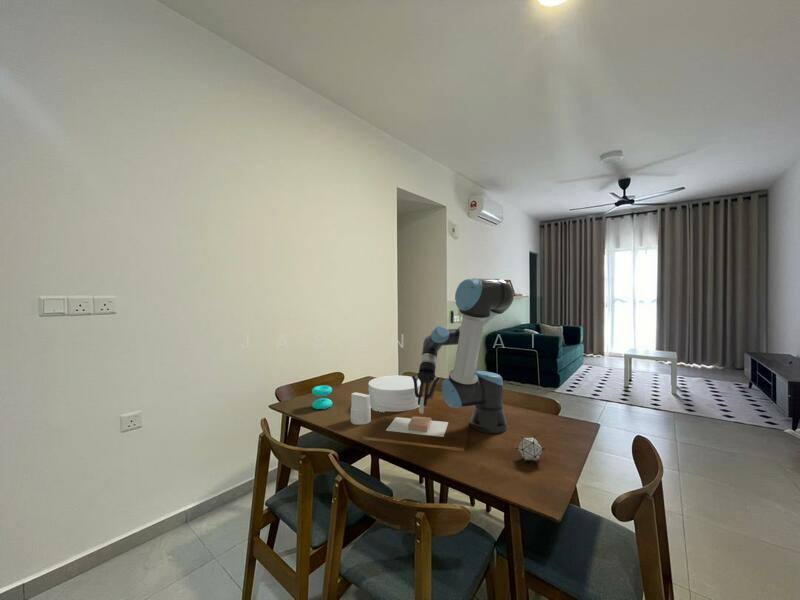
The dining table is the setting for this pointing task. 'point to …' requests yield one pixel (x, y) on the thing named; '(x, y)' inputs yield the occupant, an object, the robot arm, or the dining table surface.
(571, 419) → the dining table surface
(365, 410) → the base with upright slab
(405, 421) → the cutting board
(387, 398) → the plate stack
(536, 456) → the game die
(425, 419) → the teal rectangular slab
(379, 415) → the dining table surface
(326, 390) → the donuts
